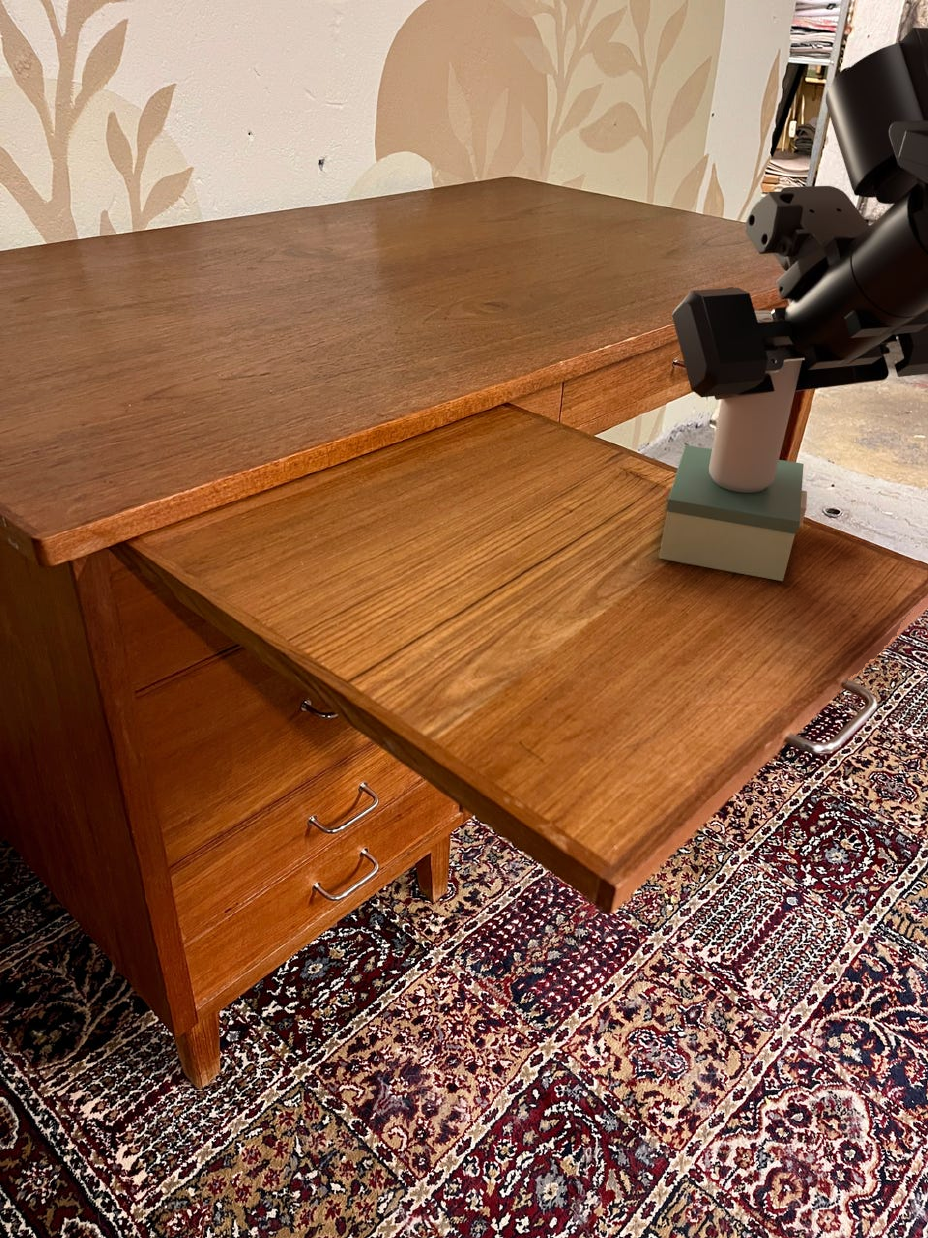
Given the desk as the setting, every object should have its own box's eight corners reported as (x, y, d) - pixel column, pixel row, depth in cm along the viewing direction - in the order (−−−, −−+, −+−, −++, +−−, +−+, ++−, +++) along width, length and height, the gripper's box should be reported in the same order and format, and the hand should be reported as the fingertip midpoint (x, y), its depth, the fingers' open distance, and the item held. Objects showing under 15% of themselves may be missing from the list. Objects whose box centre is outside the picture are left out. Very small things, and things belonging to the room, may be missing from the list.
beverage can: (747, 501, 69) (784, 335, 62) (693, 478, 72) (723, 317, 65) (785, 484, 72) (824, 322, 65) (732, 462, 75) (764, 305, 68)
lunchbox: (795, 520, 78) (810, 464, 75) (791, 583, 70) (807, 523, 67) (675, 500, 80) (685, 444, 77) (657, 558, 72) (667, 499, 69)
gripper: (981, 143, 59) (824, 280, 73) (716, 147, 53) (604, 295, 68) (1036, 310, 57) (864, 417, 72) (768, 333, 51) (641, 443, 66)
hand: (746, 389), depth 69 cm, fingers closed on beverage can, 5 cm apart
